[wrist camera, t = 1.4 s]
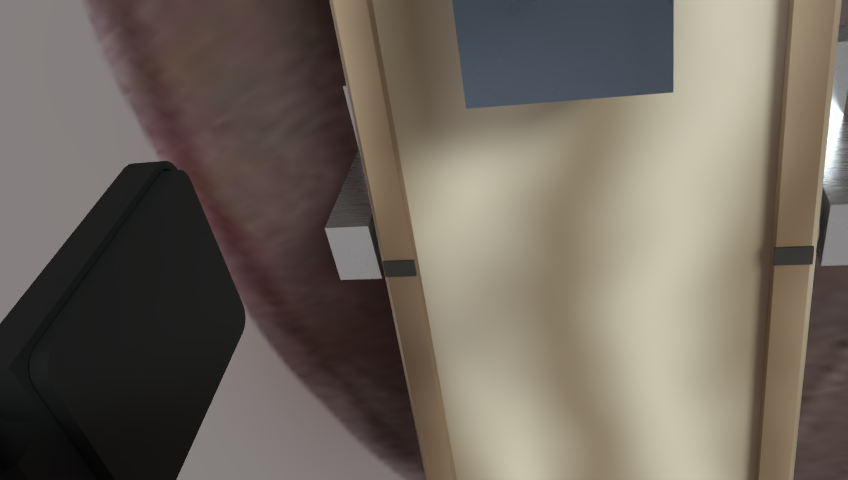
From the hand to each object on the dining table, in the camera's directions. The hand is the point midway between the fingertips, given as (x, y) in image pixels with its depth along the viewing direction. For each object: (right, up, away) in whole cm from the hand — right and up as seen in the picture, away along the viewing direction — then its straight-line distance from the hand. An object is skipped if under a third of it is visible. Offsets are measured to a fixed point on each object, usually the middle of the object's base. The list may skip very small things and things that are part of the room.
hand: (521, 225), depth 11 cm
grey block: (+3, +8, +11) cm, 14 cm away
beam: (+5, +2, +21) cm, 21 cm away
